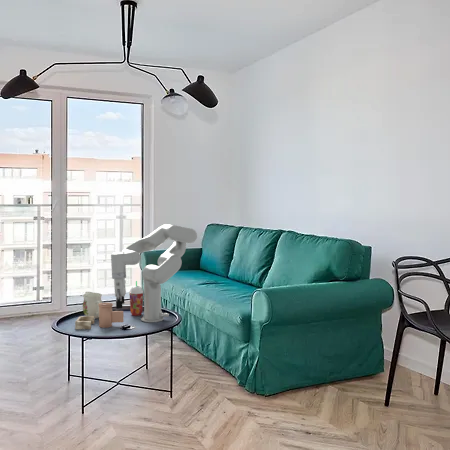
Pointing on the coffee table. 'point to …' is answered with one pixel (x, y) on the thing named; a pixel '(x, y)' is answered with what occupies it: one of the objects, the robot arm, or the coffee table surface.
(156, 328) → the coffee table surface
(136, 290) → the smoothie
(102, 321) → the peach cylinder
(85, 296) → the pitcher
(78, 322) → the holder
